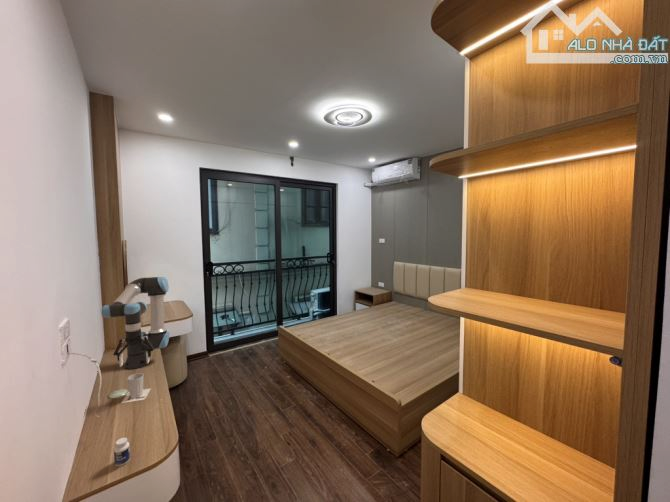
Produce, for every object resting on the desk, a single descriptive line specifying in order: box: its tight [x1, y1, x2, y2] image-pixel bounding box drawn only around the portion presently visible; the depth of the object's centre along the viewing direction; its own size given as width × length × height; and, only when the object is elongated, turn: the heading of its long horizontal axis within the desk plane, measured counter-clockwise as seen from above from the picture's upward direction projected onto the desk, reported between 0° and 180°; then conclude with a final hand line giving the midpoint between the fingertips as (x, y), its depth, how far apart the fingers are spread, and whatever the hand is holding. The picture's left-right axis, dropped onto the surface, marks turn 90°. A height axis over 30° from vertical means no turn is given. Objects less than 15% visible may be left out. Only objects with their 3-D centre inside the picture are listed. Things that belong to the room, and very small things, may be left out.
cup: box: [127, 372, 145, 398], centre depth 167 cm, size 8×8×12 cm
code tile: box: [120, 388, 152, 404], centre depth 168 cm, size 12×12×1 cm
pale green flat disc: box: [108, 388, 129, 400], centre depth 169 cm, size 9×9×1 cm
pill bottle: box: [113, 437, 131, 467], centre depth 120 cm, size 5×5×10 cm
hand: (135, 364), depth 166 cm, fingers open, 13 cm apart
